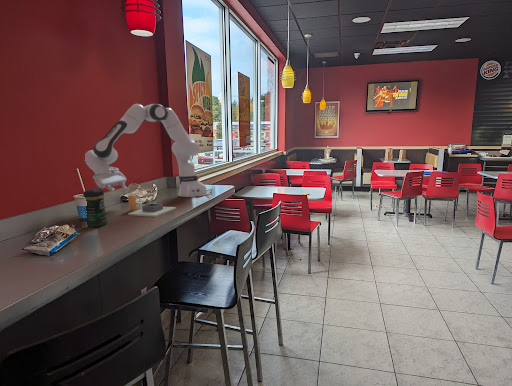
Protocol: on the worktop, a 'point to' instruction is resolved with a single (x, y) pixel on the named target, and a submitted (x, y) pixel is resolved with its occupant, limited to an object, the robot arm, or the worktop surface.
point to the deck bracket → (152, 210)
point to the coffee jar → (95, 207)
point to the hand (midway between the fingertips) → (119, 189)
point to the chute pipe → (132, 203)
